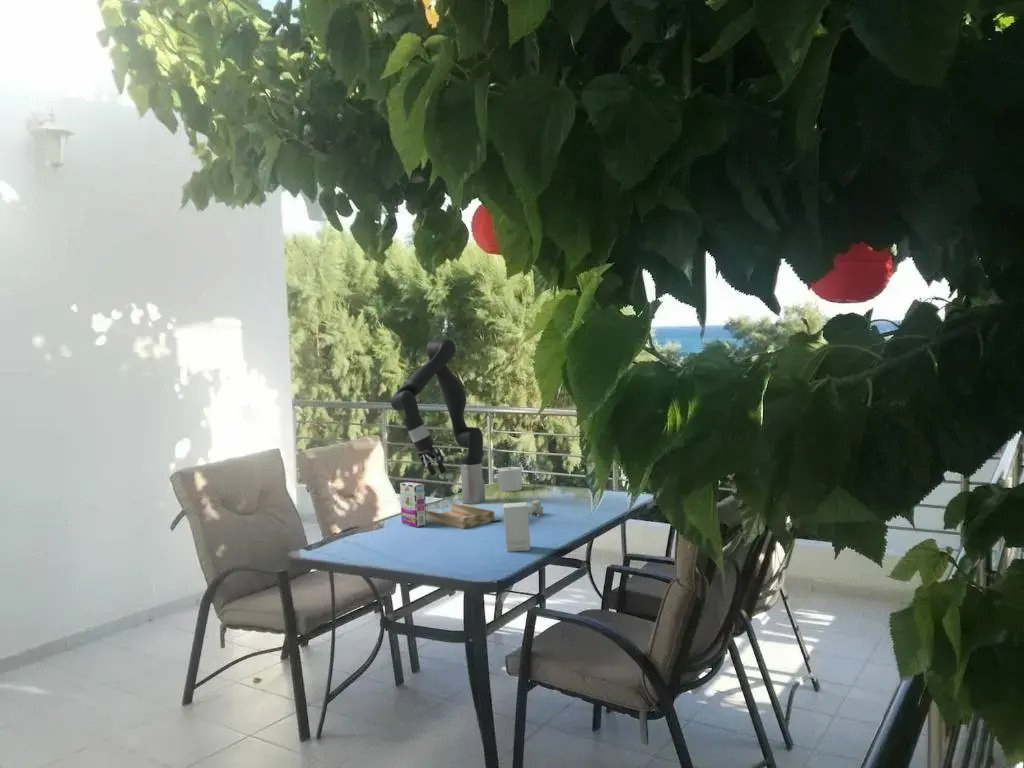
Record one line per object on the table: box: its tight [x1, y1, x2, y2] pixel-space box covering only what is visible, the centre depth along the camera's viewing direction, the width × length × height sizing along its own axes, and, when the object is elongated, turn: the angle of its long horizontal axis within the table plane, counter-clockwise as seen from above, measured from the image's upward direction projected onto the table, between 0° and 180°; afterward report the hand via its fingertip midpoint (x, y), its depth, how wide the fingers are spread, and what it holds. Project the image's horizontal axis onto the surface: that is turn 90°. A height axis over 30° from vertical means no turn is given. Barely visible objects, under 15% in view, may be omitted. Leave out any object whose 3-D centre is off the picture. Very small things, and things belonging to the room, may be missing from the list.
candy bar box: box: [399, 481, 427, 528], centre depth 325 cm, size 11×5×16 cm, turn 40°
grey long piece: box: [527, 499, 544, 518], centre depth 324 cm, size 5×7×25 cm
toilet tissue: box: [497, 466, 523, 493], centre depth 388 cm, size 11×12×10 cm
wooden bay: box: [426, 502, 496, 530], centre depth 328 cm, size 16×26×4 cm, turn 43°
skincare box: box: [503, 501, 531, 553], centre depth 280 cm, size 8×7×16 cm
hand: (438, 473), depth 331 cm, fingers open, 8 cm apart
